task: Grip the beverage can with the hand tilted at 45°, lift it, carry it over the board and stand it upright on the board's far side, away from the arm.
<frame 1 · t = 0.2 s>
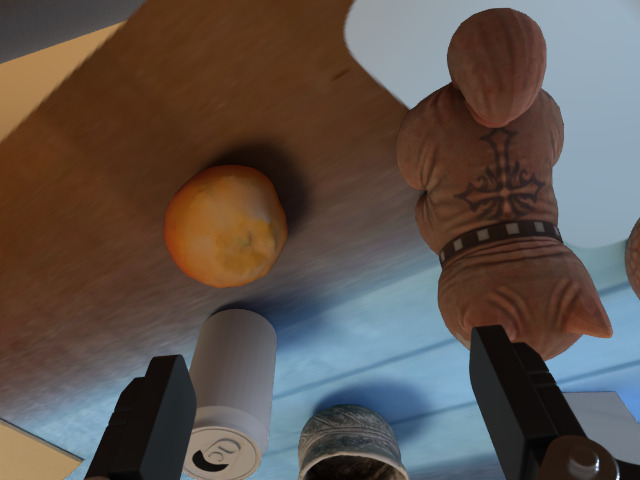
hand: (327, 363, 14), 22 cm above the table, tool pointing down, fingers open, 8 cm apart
soap dispenser: (559, 414, 48), on the table
figurine: (462, 151, 34), on the table
mug: (340, 430, 48), on the table
beverage can: (240, 331, 42), on the table
fruit: (233, 203, 36), on the table
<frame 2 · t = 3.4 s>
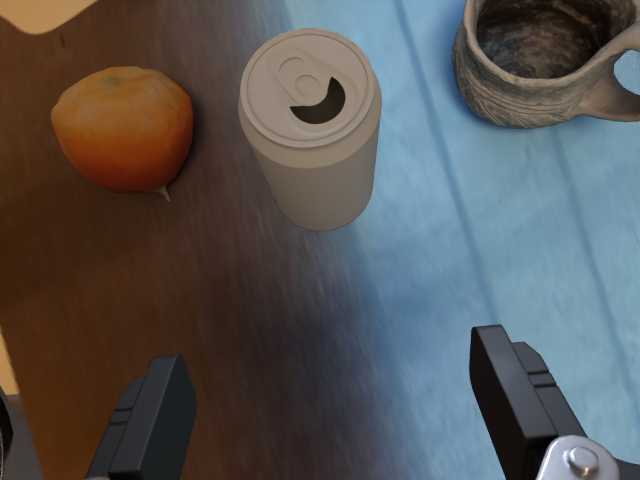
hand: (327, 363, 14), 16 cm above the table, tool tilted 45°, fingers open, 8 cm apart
mug: (531, 97, 33), on the table
beverage can: (322, 188, 32), on the table
fruit: (151, 153, 34), on the table
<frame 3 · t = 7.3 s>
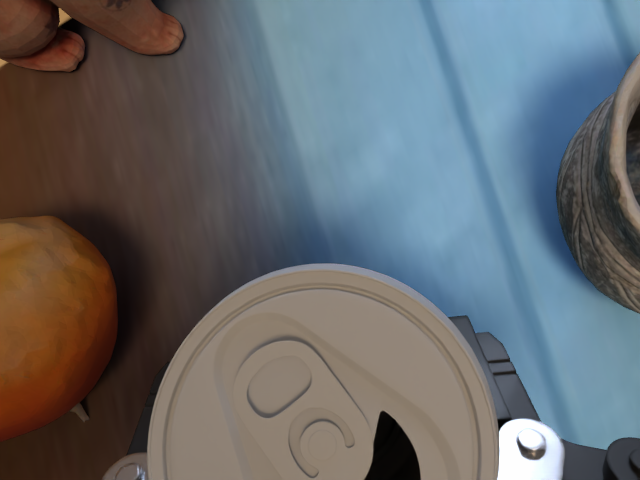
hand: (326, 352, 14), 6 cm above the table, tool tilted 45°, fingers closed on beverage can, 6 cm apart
figurine: (92, 2, 25), on the table
beverage can: (338, 399, 20), on the table, touching gripper
fruit: (62, 331, 21), on the table
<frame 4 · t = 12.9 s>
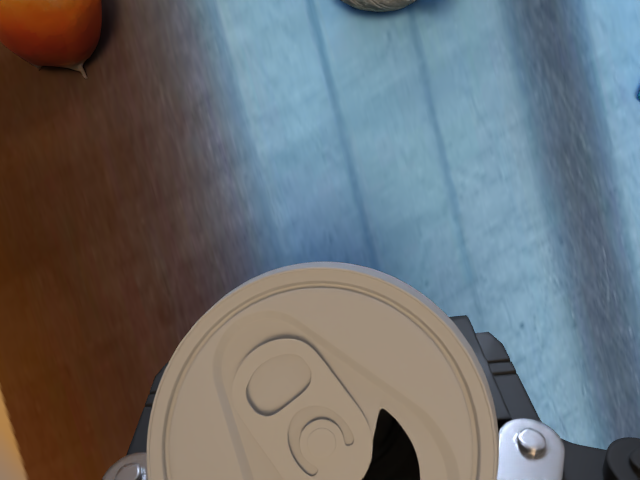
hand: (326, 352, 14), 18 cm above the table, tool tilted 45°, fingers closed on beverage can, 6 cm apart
beverage can: (338, 398, 20), point 12 cm above the table, touching gripper
fruit: (73, 41, 39), on the table
when the fingers open (6 cm above the table, at t = 18.5 s): beverage can stays where it is, on the table.
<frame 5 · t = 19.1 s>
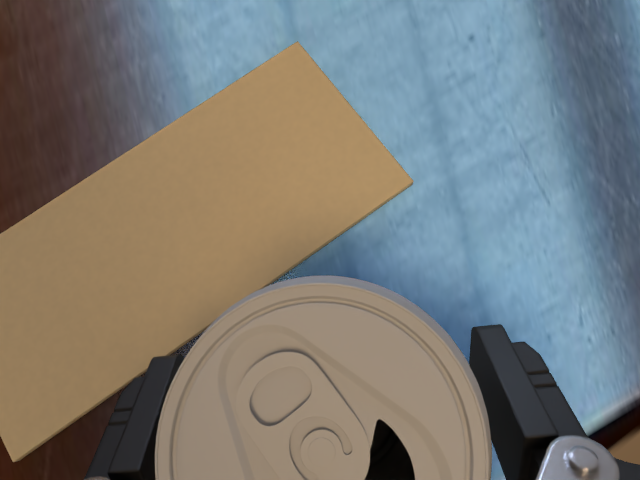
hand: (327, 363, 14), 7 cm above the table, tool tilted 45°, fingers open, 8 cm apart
beverage can: (338, 402, 20), on the table
board: (171, 234, 22), on the table
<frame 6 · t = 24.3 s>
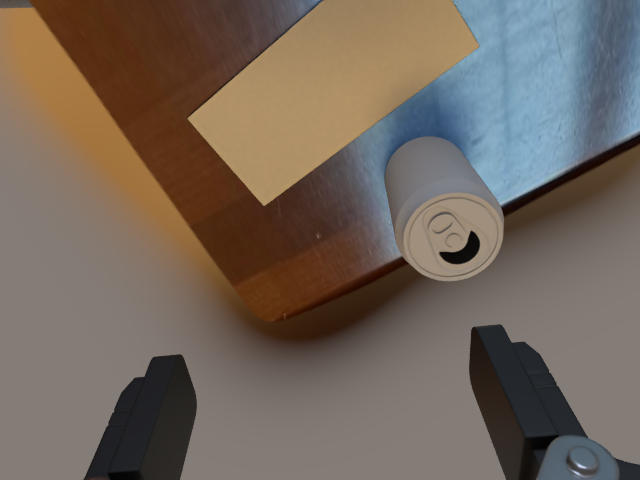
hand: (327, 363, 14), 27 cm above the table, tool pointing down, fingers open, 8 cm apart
beverage can: (424, 172, 39), on the table
board: (326, 83, 36), on the table
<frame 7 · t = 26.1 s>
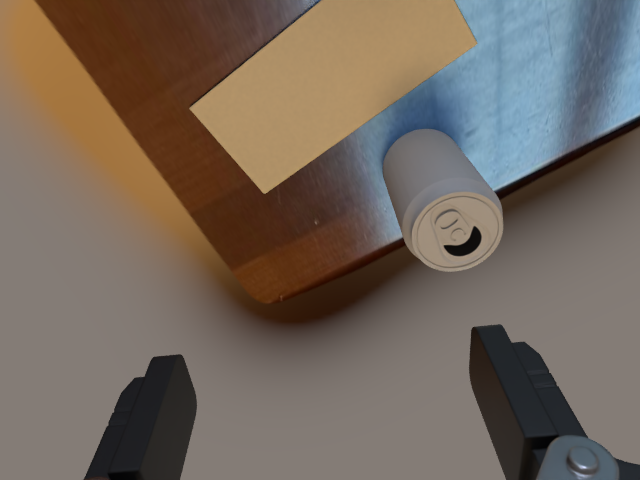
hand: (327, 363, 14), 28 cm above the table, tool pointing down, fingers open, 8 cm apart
beverage can: (419, 162, 41), on the table
board: (329, 75, 37), on the table
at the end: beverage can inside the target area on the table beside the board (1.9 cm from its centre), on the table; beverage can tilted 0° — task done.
